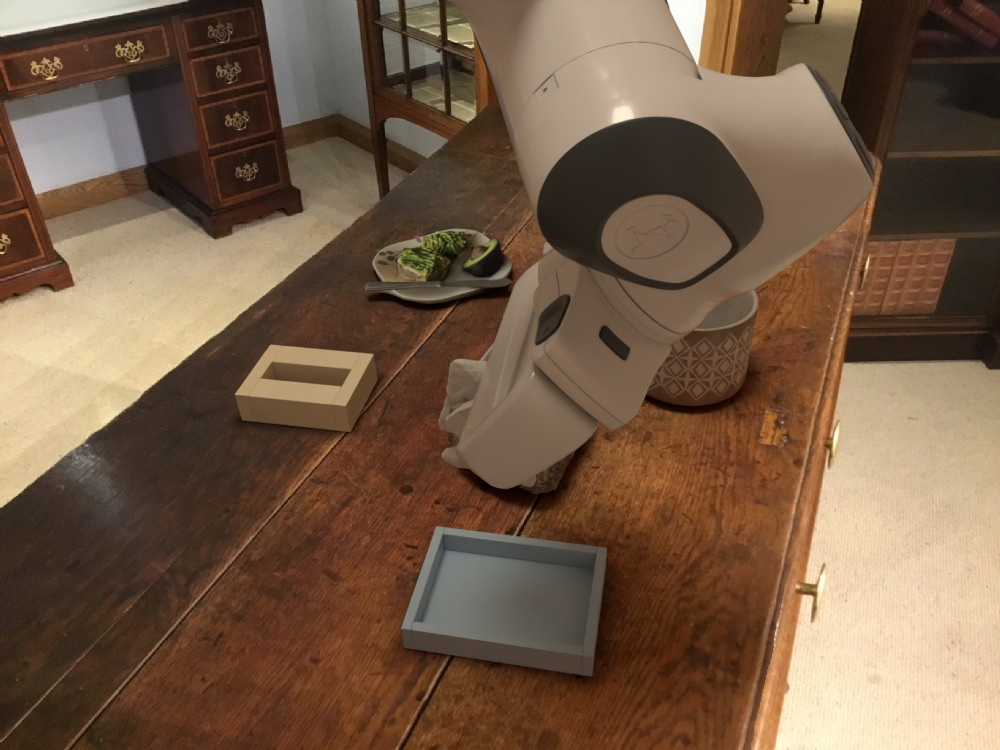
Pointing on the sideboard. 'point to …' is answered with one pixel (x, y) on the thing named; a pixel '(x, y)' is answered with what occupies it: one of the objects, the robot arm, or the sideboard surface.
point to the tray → (508, 600)
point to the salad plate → (441, 267)
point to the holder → (307, 388)
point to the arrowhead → (461, 385)
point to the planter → (709, 356)
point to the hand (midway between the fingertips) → (459, 408)
